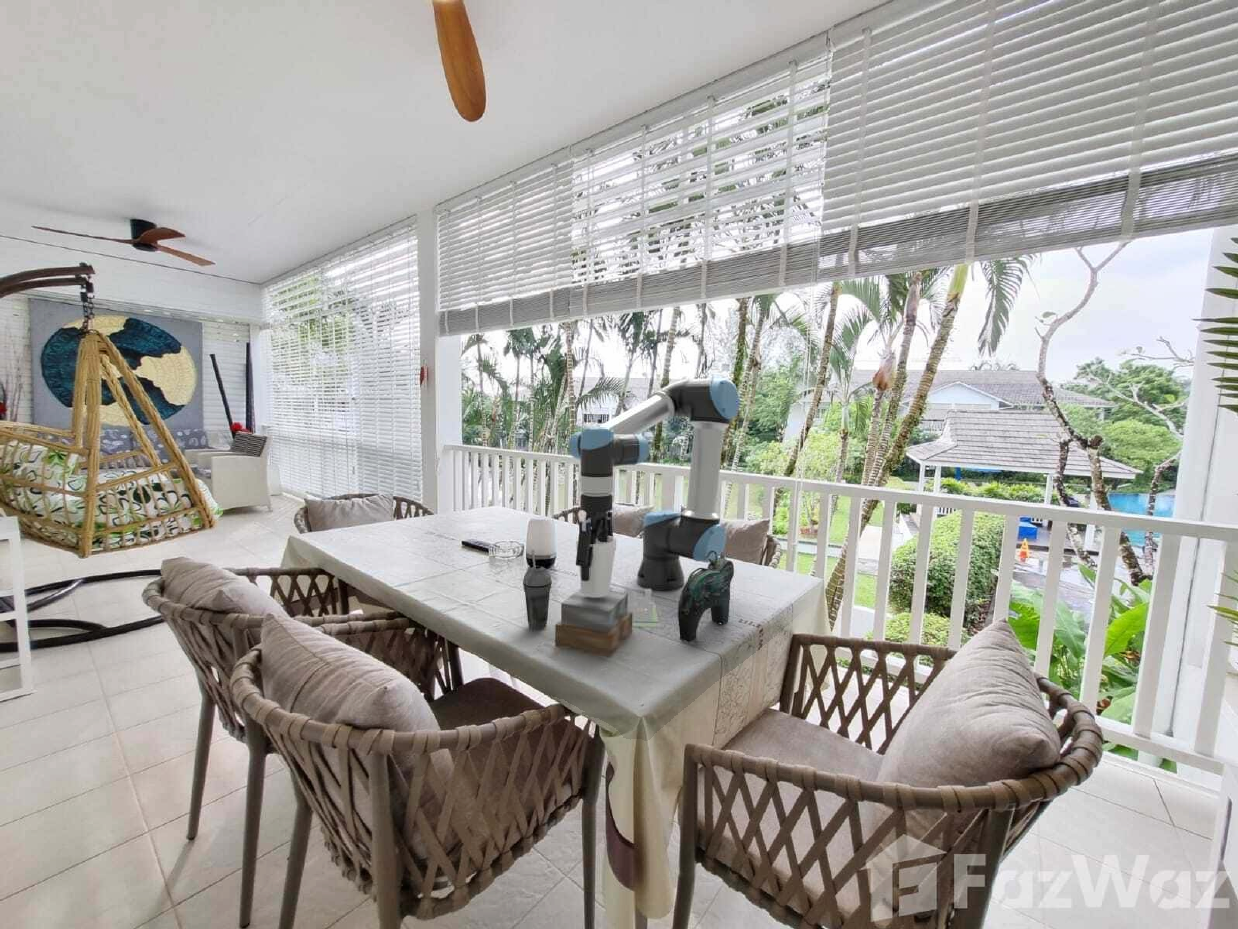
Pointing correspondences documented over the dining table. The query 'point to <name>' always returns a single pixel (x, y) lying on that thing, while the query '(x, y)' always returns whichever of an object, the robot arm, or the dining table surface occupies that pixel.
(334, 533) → the dining table surface
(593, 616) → the block tower
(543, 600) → the beverage cup
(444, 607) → the dining table surface
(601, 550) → the foam cup
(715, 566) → the green elephant statue
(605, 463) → the robot arm
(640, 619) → the castle model
